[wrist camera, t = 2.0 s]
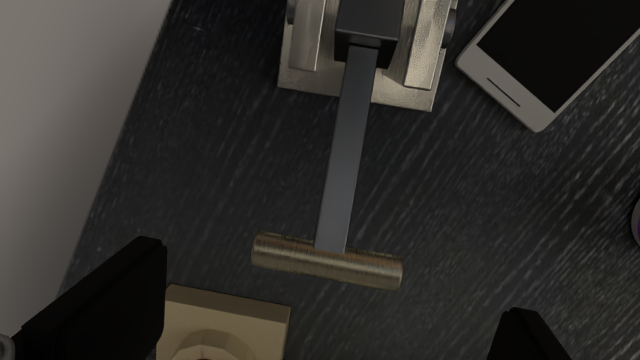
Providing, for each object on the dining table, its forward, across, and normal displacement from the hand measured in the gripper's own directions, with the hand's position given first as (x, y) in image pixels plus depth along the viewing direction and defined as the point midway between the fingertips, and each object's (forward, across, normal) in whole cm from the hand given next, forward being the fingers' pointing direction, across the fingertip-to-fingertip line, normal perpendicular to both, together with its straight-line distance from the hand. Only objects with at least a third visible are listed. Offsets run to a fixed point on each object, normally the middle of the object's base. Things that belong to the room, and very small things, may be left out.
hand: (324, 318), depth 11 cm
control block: (+18, +7, +18) cm, 26 cm away
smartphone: (+18, -12, -13) cm, 25 cm away
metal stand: (+18, 0, -8) cm, 19 cm away
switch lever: (+6, 0, -4) cm, 7 cm away
